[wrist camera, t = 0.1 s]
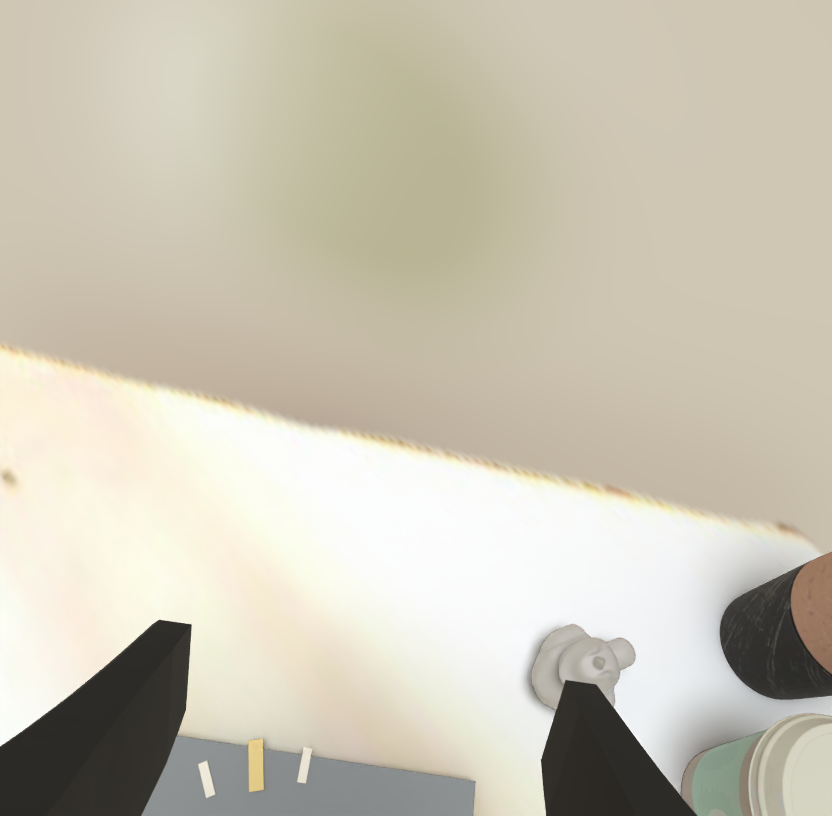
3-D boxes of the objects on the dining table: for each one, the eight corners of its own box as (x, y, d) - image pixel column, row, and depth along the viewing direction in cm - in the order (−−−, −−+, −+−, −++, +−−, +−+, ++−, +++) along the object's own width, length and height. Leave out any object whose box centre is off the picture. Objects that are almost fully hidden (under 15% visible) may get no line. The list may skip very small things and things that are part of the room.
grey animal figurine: (509, 651, 45) (543, 629, 38) (594, 616, 47) (642, 589, 40) (544, 736, 43) (588, 729, 36) (633, 696, 44) (691, 682, 37)
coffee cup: (633, 806, 41) (739, 817, 31) (702, 695, 45) (818, 672, 34) (753, 922, 39) (910, 976, 29) (815, 796, 43) (975, 803, 32)
